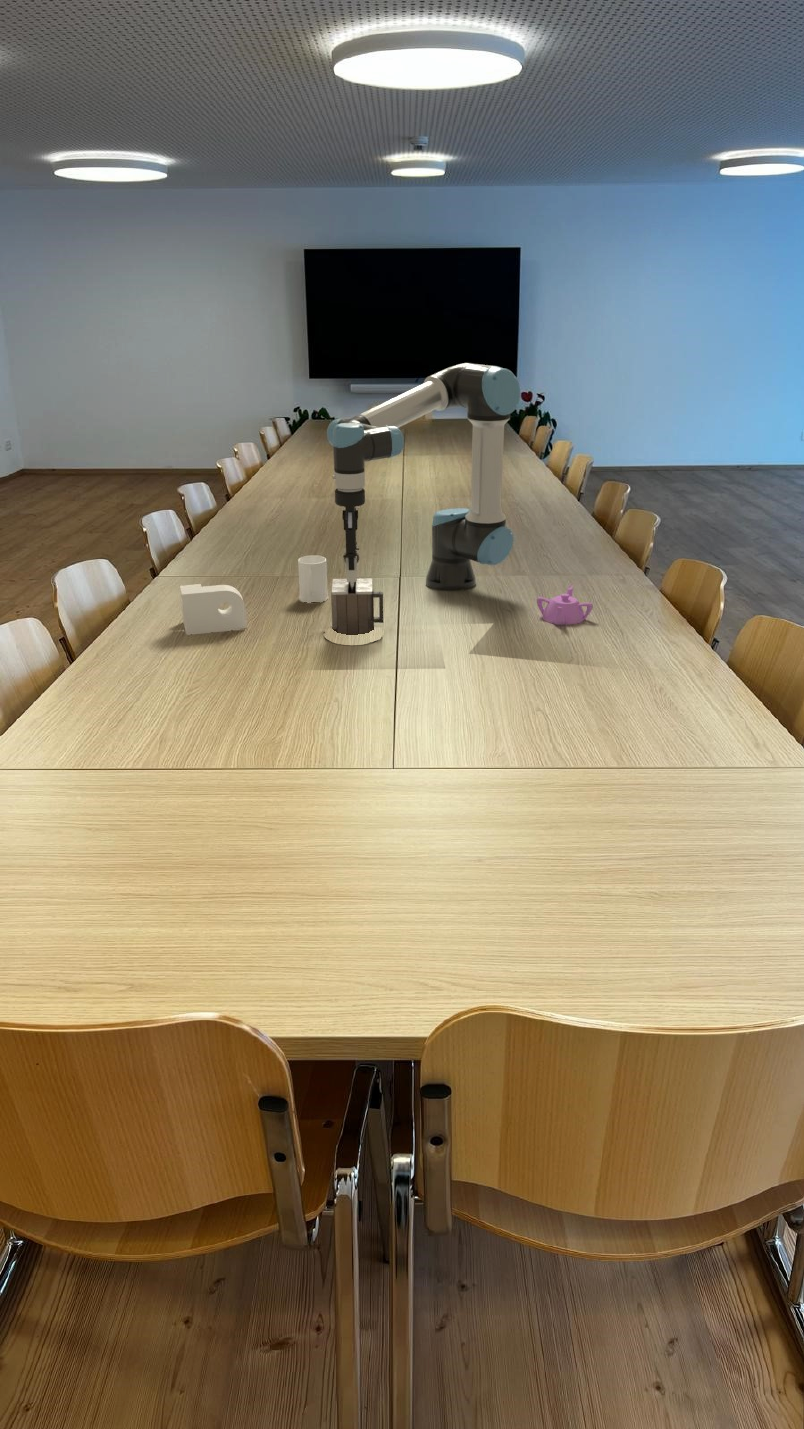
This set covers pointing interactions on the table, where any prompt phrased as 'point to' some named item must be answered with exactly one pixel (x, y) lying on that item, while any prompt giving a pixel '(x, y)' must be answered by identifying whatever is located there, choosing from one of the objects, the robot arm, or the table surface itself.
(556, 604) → the teapot
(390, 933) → the table surface
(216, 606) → the tape dispenser
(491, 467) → the robot arm
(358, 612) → the wooden tankard
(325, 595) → the mug
